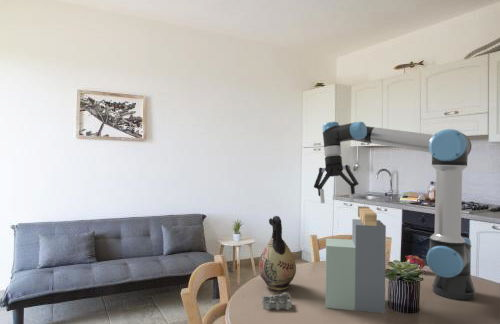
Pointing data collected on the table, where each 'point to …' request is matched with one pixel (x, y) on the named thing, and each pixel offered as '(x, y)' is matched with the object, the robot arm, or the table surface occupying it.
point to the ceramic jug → (277, 260)
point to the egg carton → (277, 301)
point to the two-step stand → (357, 269)
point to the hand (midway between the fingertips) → (337, 202)
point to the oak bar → (367, 216)
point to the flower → (415, 260)
